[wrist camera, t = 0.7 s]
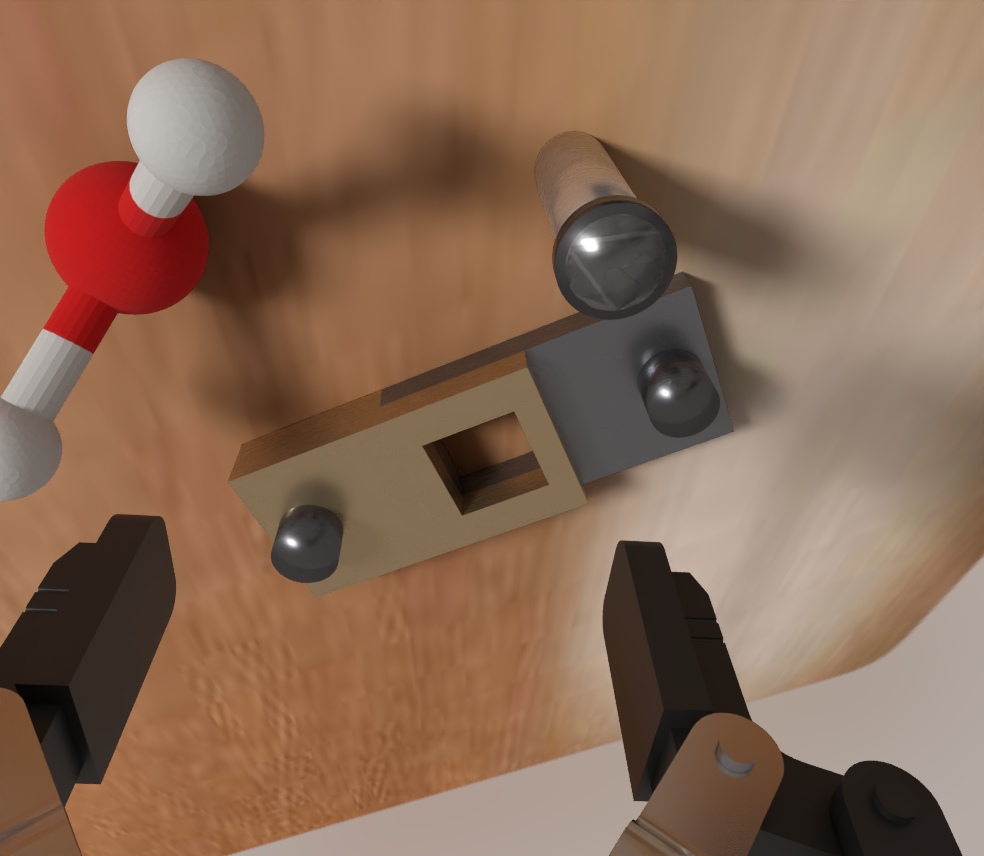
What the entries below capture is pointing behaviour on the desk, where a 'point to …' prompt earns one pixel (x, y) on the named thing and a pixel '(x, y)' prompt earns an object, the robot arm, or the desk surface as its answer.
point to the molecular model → (127, 243)
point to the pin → (601, 231)
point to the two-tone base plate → (464, 404)
